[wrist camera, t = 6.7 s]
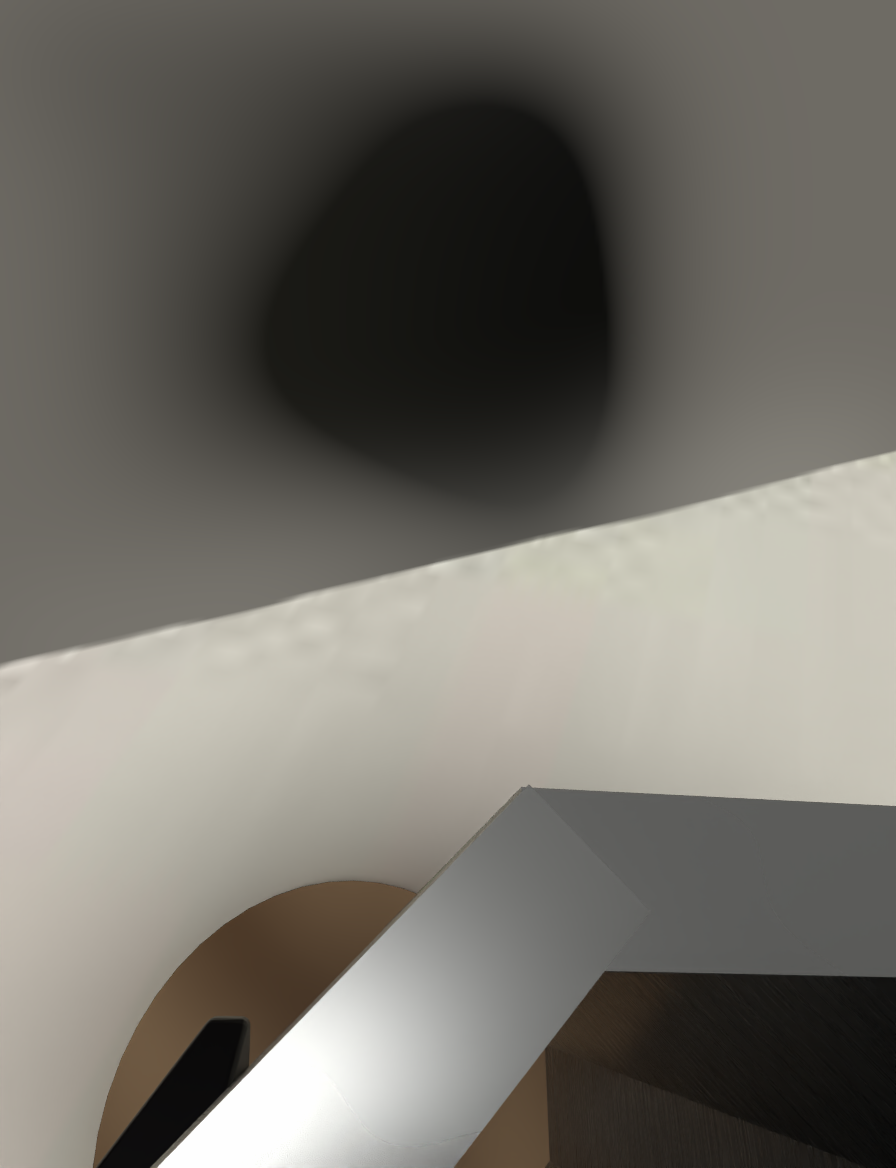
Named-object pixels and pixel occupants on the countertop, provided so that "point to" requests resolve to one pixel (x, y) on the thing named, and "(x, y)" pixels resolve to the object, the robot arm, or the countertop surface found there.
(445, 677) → the countertop surface
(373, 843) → the countertop surface
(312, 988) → the post stand
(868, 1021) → the steel sleeve
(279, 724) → the countertop surface
